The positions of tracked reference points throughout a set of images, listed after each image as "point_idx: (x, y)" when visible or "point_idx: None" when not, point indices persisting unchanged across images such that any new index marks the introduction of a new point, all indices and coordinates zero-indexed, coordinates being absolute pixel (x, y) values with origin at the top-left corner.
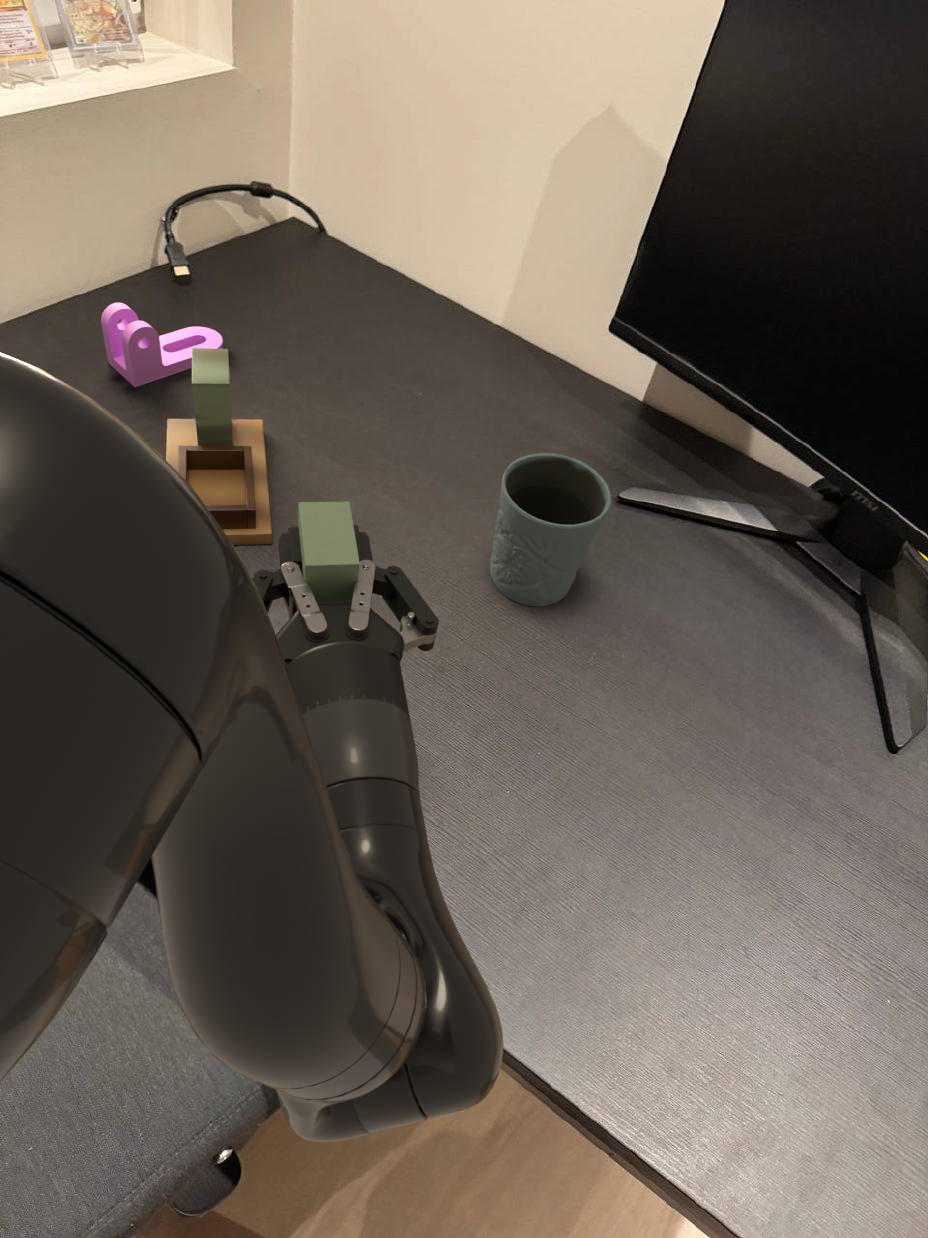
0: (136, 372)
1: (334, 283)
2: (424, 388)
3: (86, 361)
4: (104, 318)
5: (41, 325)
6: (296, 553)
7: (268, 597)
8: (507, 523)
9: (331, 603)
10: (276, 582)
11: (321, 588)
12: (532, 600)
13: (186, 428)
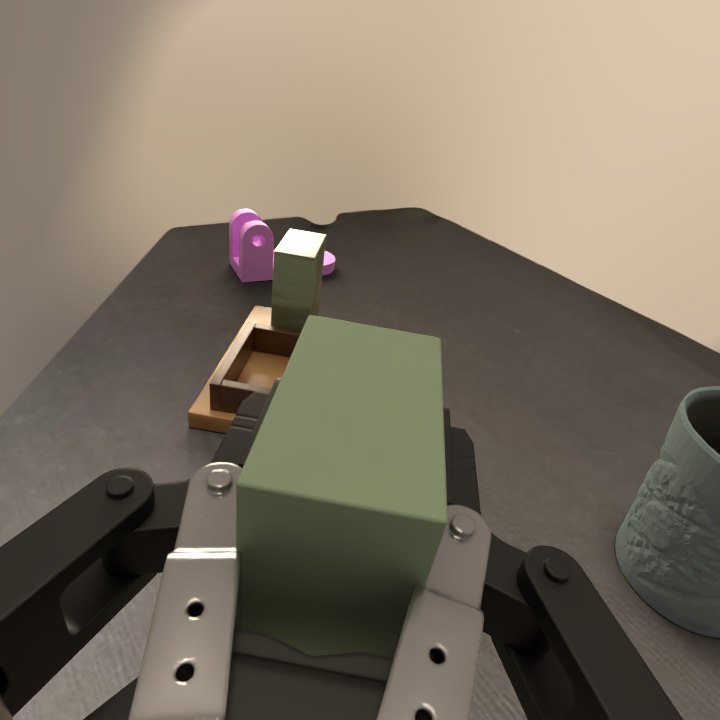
0: (246, 268)
1: (444, 244)
2: (522, 327)
3: (211, 259)
4: (232, 219)
5: (191, 233)
6: None
7: (128, 564)
8: (687, 486)
9: (303, 662)
10: (160, 520)
11: (293, 578)
12: (700, 625)
13: (269, 316)
